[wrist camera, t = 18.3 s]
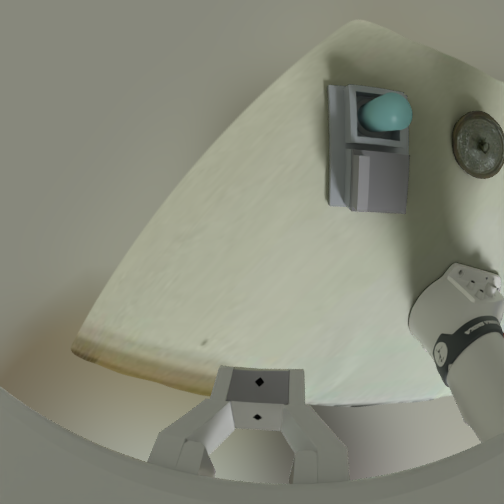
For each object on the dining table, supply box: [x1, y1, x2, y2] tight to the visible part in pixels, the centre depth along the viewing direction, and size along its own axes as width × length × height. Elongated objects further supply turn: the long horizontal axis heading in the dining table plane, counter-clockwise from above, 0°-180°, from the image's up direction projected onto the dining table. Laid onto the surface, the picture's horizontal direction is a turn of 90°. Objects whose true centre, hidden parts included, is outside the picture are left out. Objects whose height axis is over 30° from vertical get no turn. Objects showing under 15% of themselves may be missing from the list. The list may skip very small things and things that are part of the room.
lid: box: [453, 111, 504, 179], centre depth 26 cm, size 11×10×5 cm
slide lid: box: [350, 149, 410, 214], centre depth 27 cm, size 7×7×3 cm
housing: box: [327, 84, 409, 209], centre depth 29 cm, size 16×11×4 cm
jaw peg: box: [357, 92, 412, 132], centre depth 25 cm, size 4×4×8 cm
